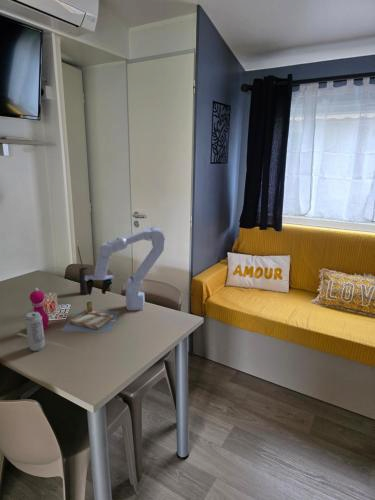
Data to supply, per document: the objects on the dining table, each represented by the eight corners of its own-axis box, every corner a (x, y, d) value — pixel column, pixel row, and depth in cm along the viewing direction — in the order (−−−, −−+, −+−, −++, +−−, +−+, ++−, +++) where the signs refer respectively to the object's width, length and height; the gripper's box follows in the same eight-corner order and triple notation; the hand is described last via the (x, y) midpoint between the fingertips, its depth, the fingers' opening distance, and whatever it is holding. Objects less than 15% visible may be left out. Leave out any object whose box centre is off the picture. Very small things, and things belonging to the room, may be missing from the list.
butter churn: (97, 289, 196) (93, 243, 188) (93, 296, 187) (89, 247, 179) (81, 289, 196) (77, 243, 188) (76, 296, 186) (72, 247, 179)
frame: (113, 317, 160) (113, 306, 158) (97, 329, 149) (97, 317, 147) (86, 311, 166) (85, 300, 164) (69, 322, 155) (68, 310, 153)
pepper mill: (33, 334, 146) (27, 292, 141) (32, 327, 152) (26, 286, 147) (50, 331, 149) (45, 289, 144) (49, 324, 156) (44, 283, 150)
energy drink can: (40, 342, 140) (36, 309, 136) (48, 347, 137) (44, 313, 133) (26, 348, 136) (21, 314, 132) (33, 353, 132) (29, 319, 128)
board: (119, 312, 167) (119, 311, 167) (110, 333, 148) (110, 331, 147) (75, 312, 167) (75, 310, 167) (60, 332, 148) (60, 331, 148)
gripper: (110, 265, 169) (105, 289, 172) (84, 264, 159) (78, 290, 162) (117, 270, 164) (112, 295, 167) (90, 269, 154) (85, 296, 157)
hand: (96, 293), depth 164 cm, fingers open, 7 cm apart
